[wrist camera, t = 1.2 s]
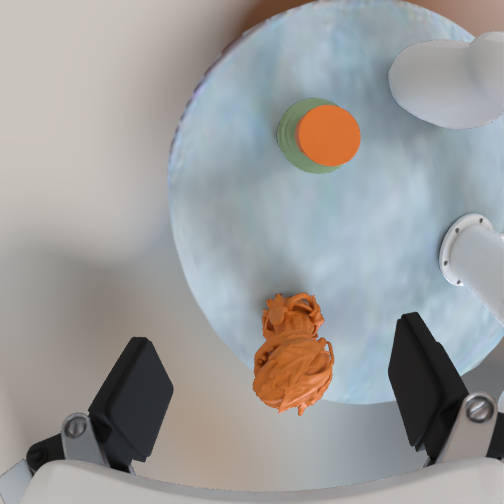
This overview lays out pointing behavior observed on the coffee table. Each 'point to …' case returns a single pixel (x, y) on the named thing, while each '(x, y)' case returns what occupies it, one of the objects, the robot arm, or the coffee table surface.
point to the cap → (328, 135)
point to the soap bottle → (451, 81)
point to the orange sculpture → (292, 354)
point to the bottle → (288, 133)
